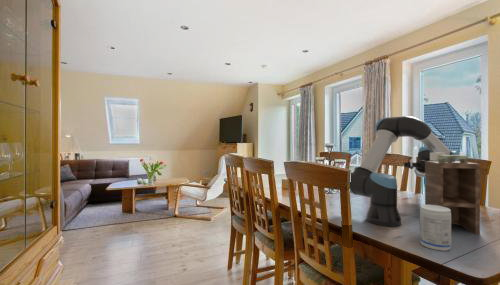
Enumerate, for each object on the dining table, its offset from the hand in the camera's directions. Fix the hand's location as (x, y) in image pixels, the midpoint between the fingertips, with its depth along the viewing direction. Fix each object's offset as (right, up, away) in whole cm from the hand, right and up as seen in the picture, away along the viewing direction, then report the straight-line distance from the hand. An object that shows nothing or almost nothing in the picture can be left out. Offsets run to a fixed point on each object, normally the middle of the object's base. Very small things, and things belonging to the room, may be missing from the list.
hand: (425, 159), depth 137 cm
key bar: (-3, +1, -16) cm, 17 cm away
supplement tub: (-27, -30, -43) cm, 59 cm away
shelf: (-5, -30, -23) cm, 38 cm away
